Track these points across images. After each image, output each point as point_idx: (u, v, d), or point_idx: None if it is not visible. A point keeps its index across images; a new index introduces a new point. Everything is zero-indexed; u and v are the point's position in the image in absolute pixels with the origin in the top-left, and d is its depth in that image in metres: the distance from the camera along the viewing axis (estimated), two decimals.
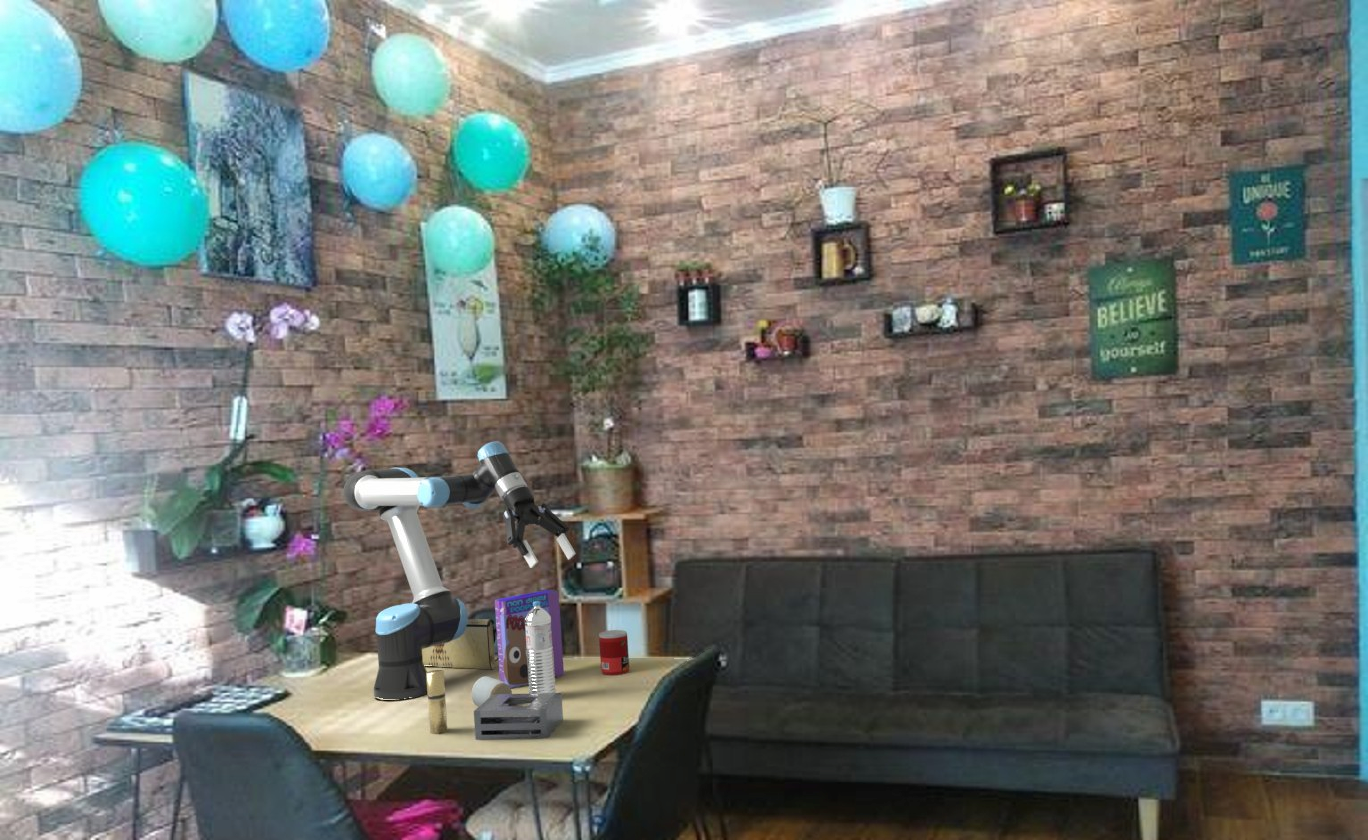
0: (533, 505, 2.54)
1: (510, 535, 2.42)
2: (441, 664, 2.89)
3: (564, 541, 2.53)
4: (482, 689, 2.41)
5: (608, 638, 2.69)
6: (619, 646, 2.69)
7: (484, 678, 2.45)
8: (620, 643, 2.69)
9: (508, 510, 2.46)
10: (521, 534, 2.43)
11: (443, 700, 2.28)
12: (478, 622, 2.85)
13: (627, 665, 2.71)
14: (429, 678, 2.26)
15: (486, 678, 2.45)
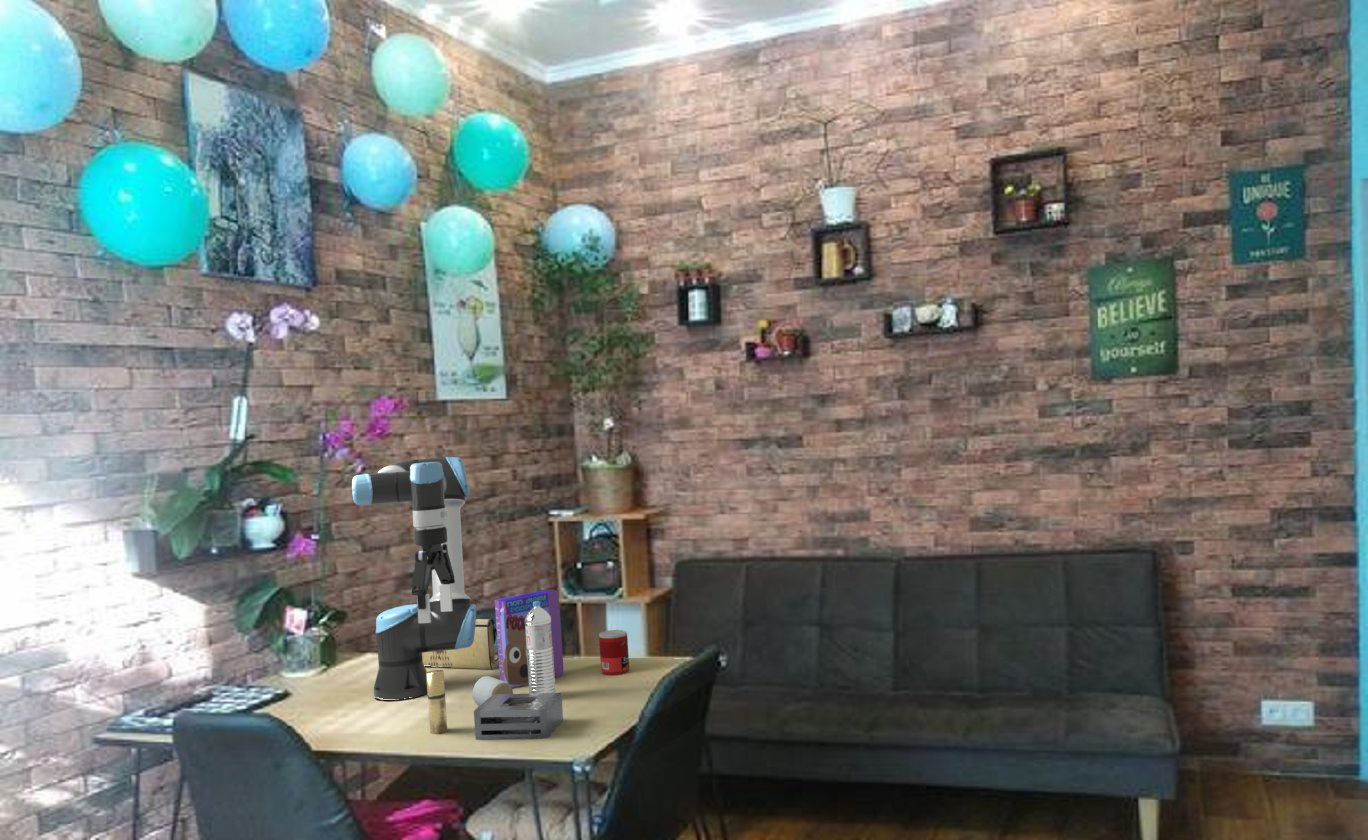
0: (440, 546, 2.31)
1: (419, 585, 2.19)
2: (441, 664, 2.89)
3: (447, 593, 2.35)
4: (483, 689, 2.42)
5: (608, 638, 2.69)
6: (619, 646, 2.69)
7: (485, 678, 2.45)
8: (620, 643, 2.69)
9: (425, 553, 2.22)
10: (427, 586, 2.22)
11: (443, 700, 2.28)
12: (478, 622, 2.85)
13: (627, 665, 2.71)
14: (429, 678, 2.26)
15: (487, 678, 2.45)
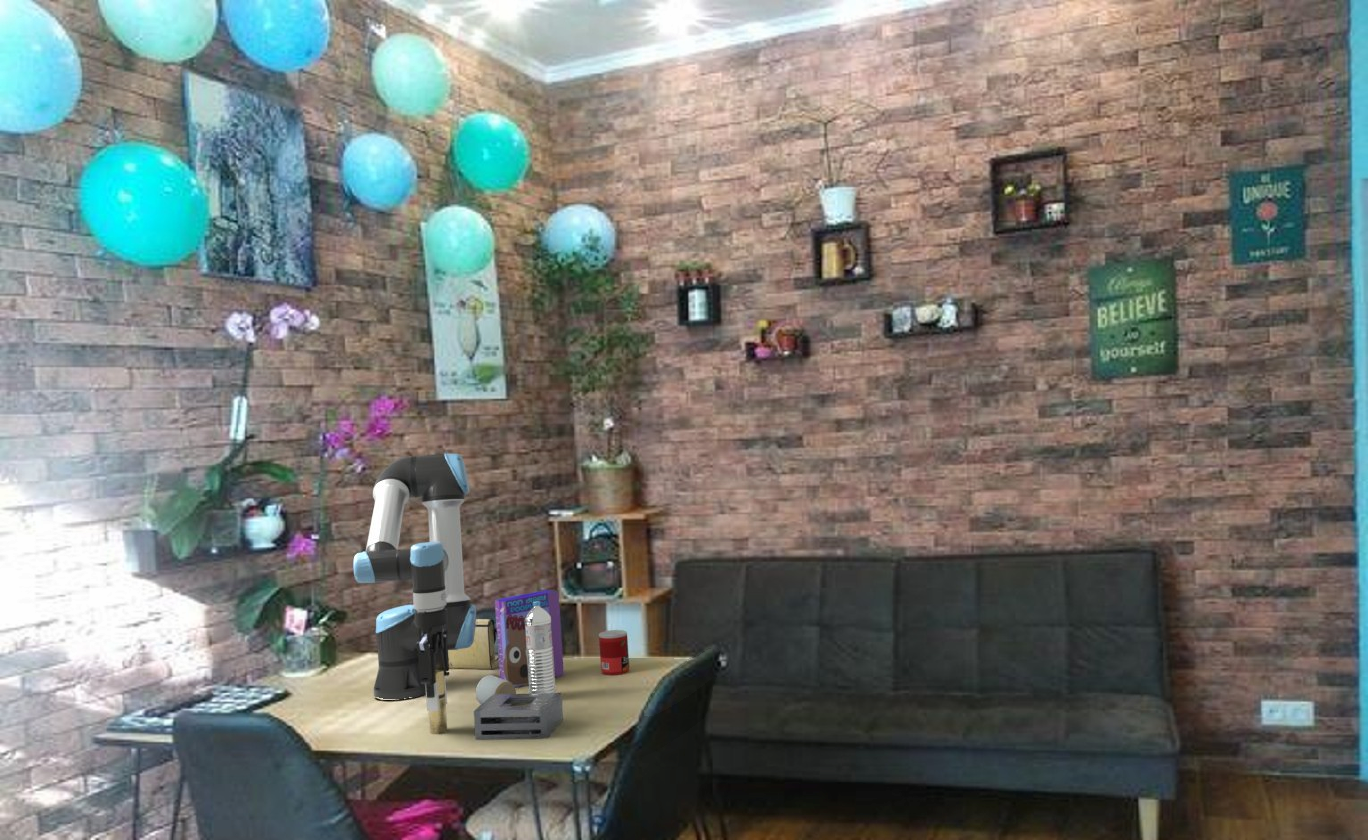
0: (441, 626, 2.31)
1: (426, 676, 2.23)
2: None
3: None
4: (486, 688, 2.42)
5: (608, 638, 2.69)
6: (619, 646, 2.69)
7: (488, 677, 2.46)
8: (620, 643, 2.69)
9: (426, 645, 2.22)
10: (434, 674, 2.25)
11: (443, 700, 2.28)
12: (479, 622, 2.85)
13: (627, 665, 2.71)
14: None
15: (490, 677, 2.46)
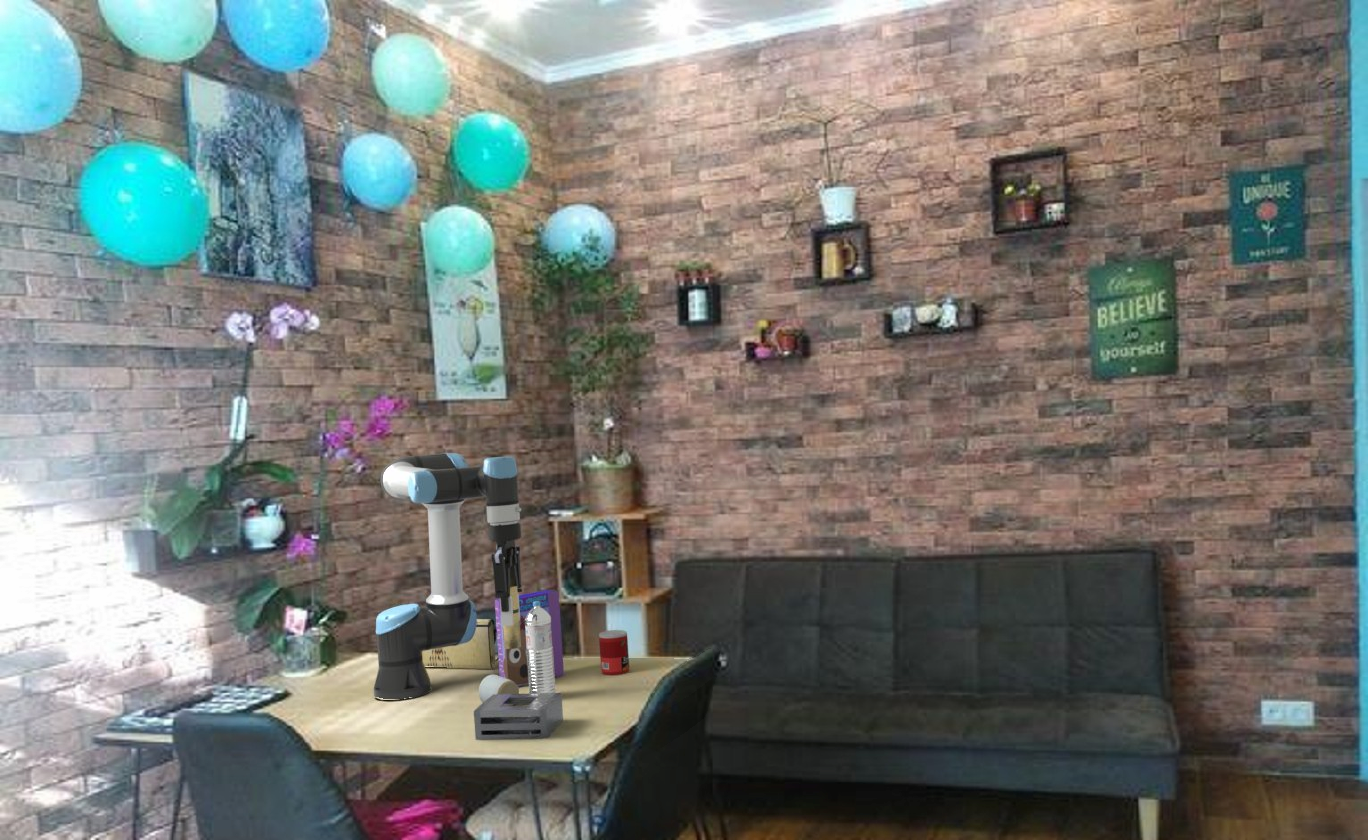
0: (514, 541, 2.28)
1: (502, 589, 2.20)
2: (440, 665, 2.89)
3: None
4: (489, 687, 2.43)
5: (608, 638, 2.69)
6: (619, 646, 2.69)
7: (491, 676, 2.46)
8: (620, 643, 2.69)
9: (501, 557, 2.19)
10: (508, 588, 2.22)
11: (517, 615, 2.25)
12: (479, 622, 2.84)
13: (627, 665, 2.71)
14: None
15: (493, 676, 2.46)
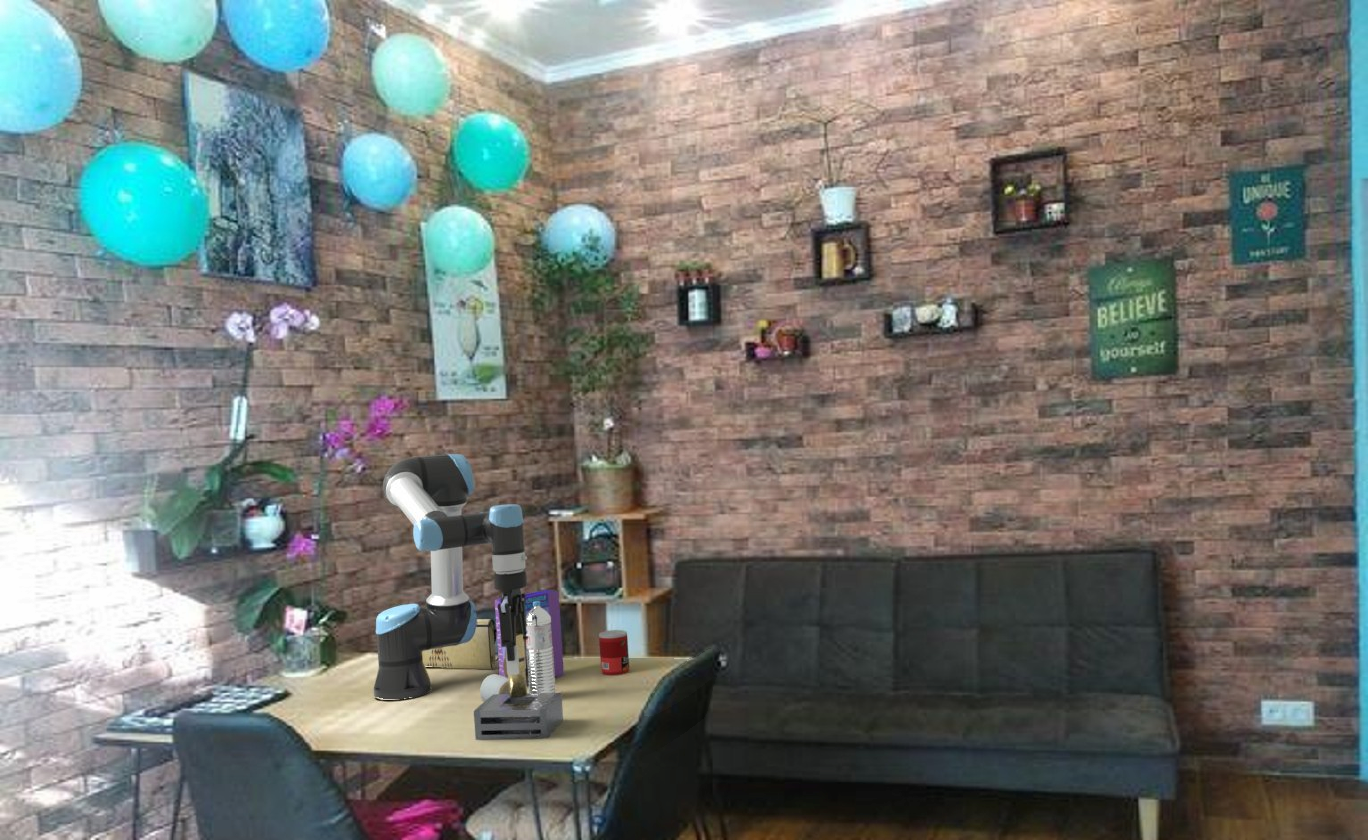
0: (519, 589, 2.28)
1: (508, 638, 2.20)
2: (440, 665, 2.89)
3: None
4: (490, 686, 2.43)
5: (608, 638, 2.69)
6: (619, 646, 2.69)
7: (493, 676, 2.47)
8: (620, 643, 2.69)
9: (508, 606, 2.19)
10: (514, 637, 2.22)
11: (523, 664, 2.25)
12: (479, 622, 2.84)
13: (627, 665, 2.71)
14: None
15: (495, 676, 2.47)
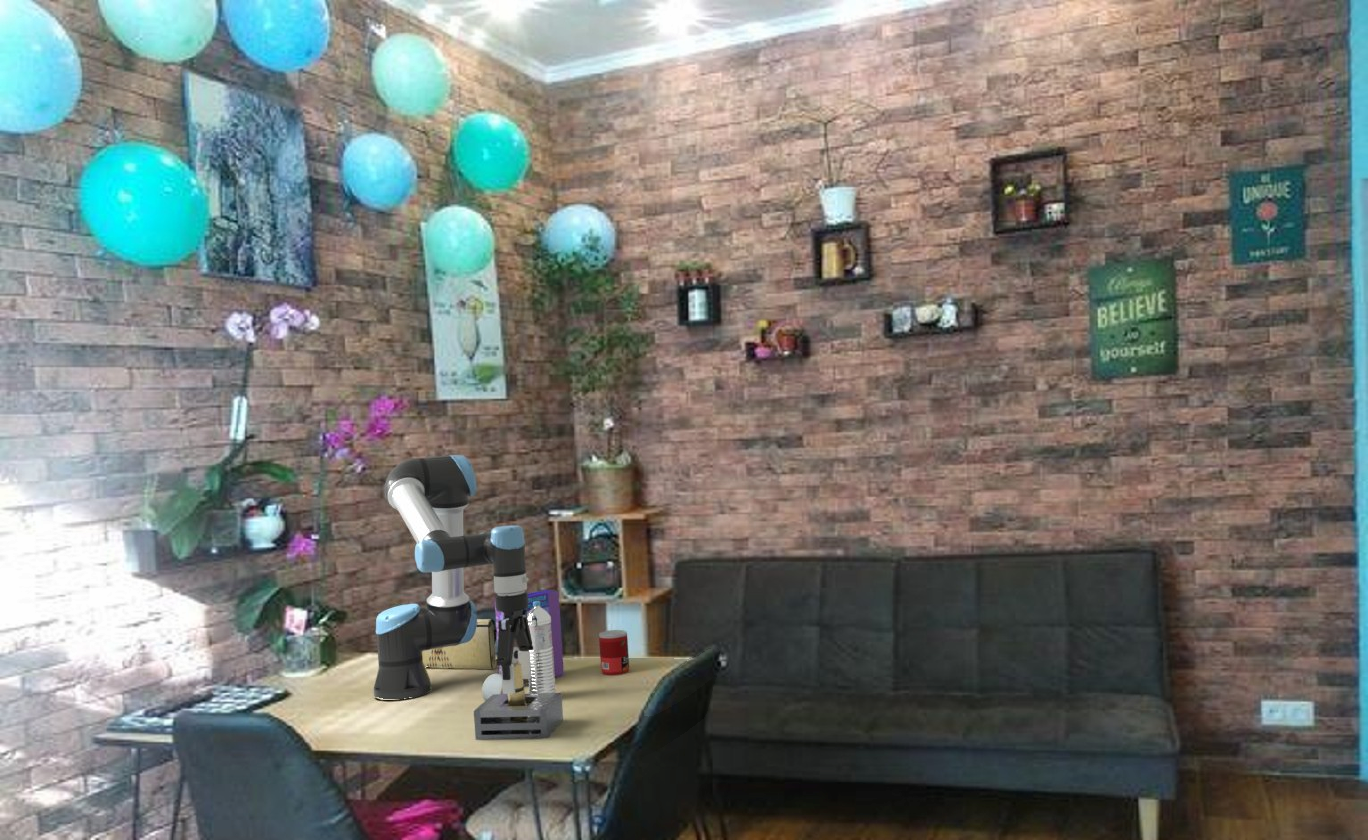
0: (520, 611, 2.28)
1: (504, 656, 2.16)
2: (440, 665, 2.88)
3: (526, 660, 2.31)
4: (492, 686, 2.44)
5: (608, 638, 2.69)
6: (619, 646, 2.69)
7: (494, 675, 2.47)
8: (620, 643, 2.69)
9: (508, 623, 2.19)
10: (511, 656, 2.19)
11: (523, 693, 2.25)
12: (479, 622, 2.84)
13: (627, 665, 2.71)
14: None
15: (496, 675, 2.47)
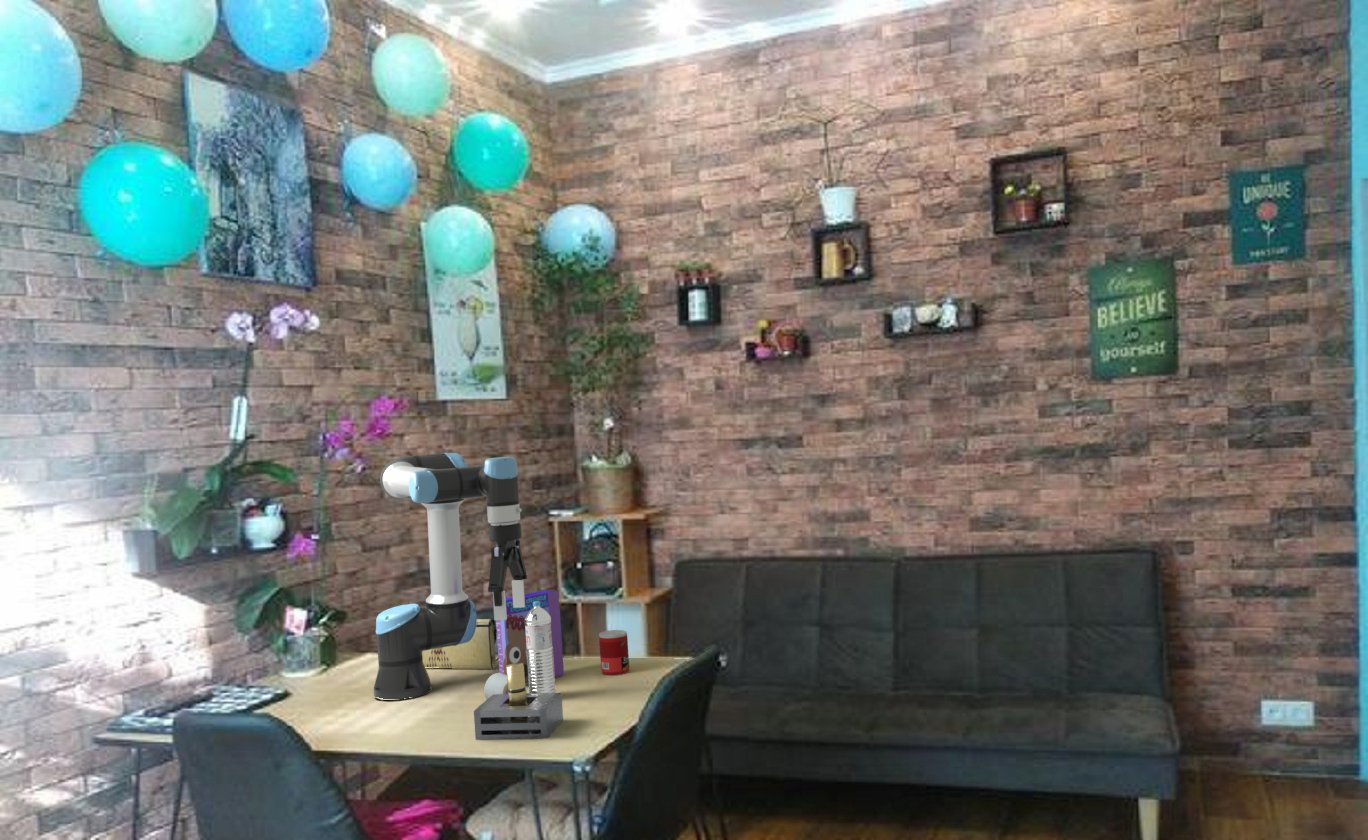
0: (513, 542, 2.29)
1: (496, 582, 2.17)
2: (440, 665, 2.88)
3: (520, 589, 2.33)
4: (494, 685, 2.44)
5: (608, 638, 2.69)
6: (619, 646, 2.69)
7: (497, 674, 2.48)
8: (620, 643, 2.69)
9: (501, 550, 2.20)
10: (503, 583, 2.20)
11: (524, 693, 2.25)
12: (479, 622, 2.84)
13: (627, 665, 2.71)
14: (510, 671, 2.23)
15: (499, 674, 2.48)
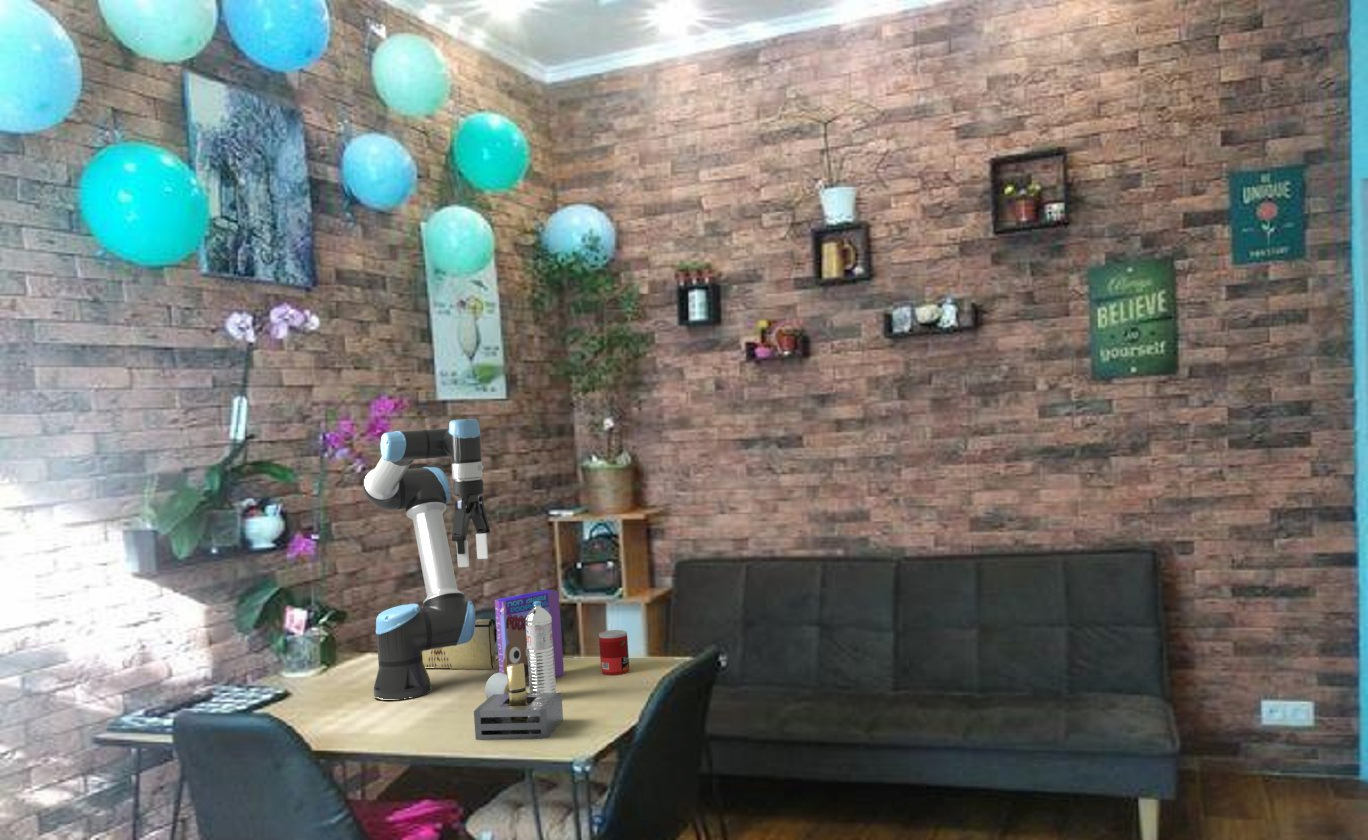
0: (476, 497, 2.49)
1: (458, 531, 2.37)
2: (440, 665, 2.88)
3: (483, 541, 2.53)
4: (495, 685, 2.45)
5: (608, 638, 2.69)
6: (619, 646, 2.69)
7: (497, 674, 2.48)
8: (620, 643, 2.69)
9: (464, 502, 2.40)
10: (465, 533, 2.40)
11: (524, 693, 2.25)
12: (479, 622, 2.84)
13: (627, 665, 2.71)
14: (511, 671, 2.23)
15: (499, 674, 2.48)
